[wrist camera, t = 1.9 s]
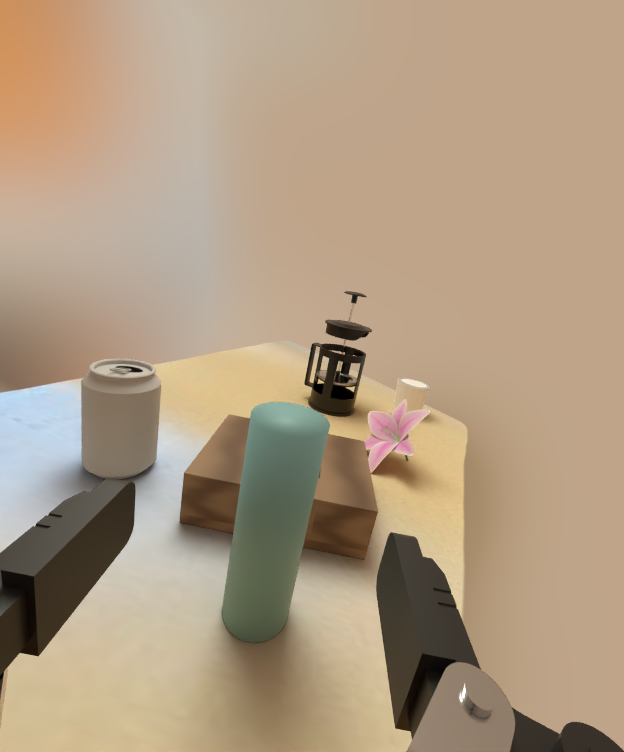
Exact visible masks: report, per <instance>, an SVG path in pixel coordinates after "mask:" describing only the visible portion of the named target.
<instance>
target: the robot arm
mask: <svg viewBox="0 0 624 752" xmlns="http://www.w3.org/2000/svg"><path fill="white" fill-rule="evenodd" d="M134 511H135V484H134V483H133V482H129V481H123V480H118V479H113V478H107V479H105V480H104V481H102V482H101V483H100V484H99V485H98V486H97V487H95V488H94V489H93V490H92V491H91V492H86V491H84V492H82V493H79V494H77V495H75V496H73V497H71V498H69V499H67V500H65V501H63V502H62V503H61V504H60V505H58V506H57V507H56V508H55V509H54V510H52V511H51V512H50V513H49V515H48V516H45V517H44V518H43V519H41V520H40V521H39V522H38V523H36V526H35V527H34V526H33V527H32V528H30V529H29V530H28V531H27V532H25V533H24V534H23V535H22V536H21V537H19V538H18V539H17V540H16V541H14V542H13V543H12V544H11V545H10V546H8V547H7V548H6V549H5V550H3V551H2V552H1V553H0V727H1V720H2V712H3V705H4V697H5V690H6V682H7V672H8V671H7V667H8V666H9V665H10V664H11V663H12V661H13V660H14V659H15V658H16V657H17V655H18V654H19V653H24V654H29V655H34V656H39V655H40V654H41V652H42V651H43V650H44V649H45V647H46V646H47V645H48V644H49V642H50V641H51V640H52V638H53V637H54V636H55V635H56V633H57V632H58V631H59V630H60V628H61V627H62V626H63V624H64V623H65V622H66V621H67V619H68V618H69V617H70V616H71V614H72V613H73V612H74V610H75V609H76V608H77V607H78V605H79V604H80V603H81V602H82V600H83V599H84V598H85V596H86V595H87V594H88V593H89V591H90V590H91V589H92V587H93V586H94V585H95V584H96V582H97V581H98V580H99V579H100V577H101V576H102V575H103V573H104V572H105V571H106V570H107V568H108V567H109V566H110V565H111V563H112V562H113V561H114V559H115V558H116V557H117V556H118V554H119V553H120V552H121V551H122V549H123V548H124V547H125V545H126V544H127V542H128V540H129V538H130V536H131V534H132V531H133V526H134ZM376 591H377V600H378V608H379V615H380V622H381V629H382V636H383V644H384V651H385V658H386V665H387V672H388V679H389V687H390V694H391V701H392V708H393V715H394V723H395V728H396V729H401V730H406V731H411V736H412V741H411V744H410V746H409V748H408V750H407V752H624V751H623V750H622V749H621V748H620V747H619V746H618V745H617V744H616V743H615V742H614V741H613V740H611V739H610V738H609V737H607V736H606V735H605V734H604V733H602V732H600V731H599V730H597V729H596V728H594V727H592V726H589V725H587V724H584V723H580V722H571V723H568V724H567V725H566V726H564V728H563V730H562V732H561V733H560V734H558V733H557V732H554V731H553V730H551V729H549V728H547V727H545V726H543V725H542V724H540V723H538V722H536V721H534V720H532V719H530V718H529V717H527V716H525V715H523V714H521V713H520V712H518V711H516V710H515V709H514V708H512V707H511V705H510V702H509V701H508V699H507V697H506V695H505V694H504V692H503V691H502V689H501V688H500V687H499V686H498V684H497V683H496V682H495V681H494V680H493V679H492V678H491V677H490V676H488V675H487V674H486V673H485V672H483V671H482V670H481V668H480V667H479V664H478V661H477V658H476V656H475V653H474V651H473V648H472V645H471V643H470V640H469V637H468V635H467V632H466V630H465V627H464V624H463V621H462V619H461V616H460V614H459V611H458V609H456V603H455V600H454V598H453V595H451V590H450V587H449V585H448V582H447V579H446V577H445V574H444V573H443V572H442V570H441V569H440V568H439V567H438V565H437V564H436V563H435V562H434V560H433V559H431V558H426V557H423V556H422V553H421V550H420V547H419V544H418V541H417V539H416V537H413V536H407V535H402V534H397V533H392V532H391V533H390V534H389V536H388V539H387V542H386V546H385V549H384V553H383V556H382V560H381V563H380V567H379V570H378V575H377V585H376Z"/></svg>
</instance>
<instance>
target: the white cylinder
mask: <svg viewBox="0 0 624 752" xmlns="http://www.w3.org/2000/svg"><path fill="white" fill-rule="evenodd" d="M429 390H430V386H429V385H427V384H425V383H423V382H421V381H417V380H414V379H409V378H399V379H398V382H397V388H396V394H395V399H394V405H393V411H394V409H395V408H396V407H397V406H398V405H399V404H400V403H401V402H402V401H403V400H404V399H406V400H407V409H406V413H407V412H409V411H414V410H422V407H423V405H424V402H425V400H426V398H427V395H428V393H429Z"/></svg>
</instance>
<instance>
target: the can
mask: <svg viewBox="0 0 624 752" xmlns="http://www.w3.org/2000/svg"><path fill="white" fill-rule="evenodd" d="M89 370H90V372H89V373H88V374H87V375H86V376H85V377H83V379H82V381H81V404H82V464H83V467H84V468H85V469H86V470H87V471H89V472H90V473H93V474H95V475H96V476H98V477H101V478H105V479H107V478H113V479H124V478H129V477H133V476H135V475H137V474H140V473H141V472H143V471H144V470H146V469H147V468H148V467H150V466H151V465H152V464H153V463H154V461H155V460H156V455H157V440H158V424H159V409H160V394H161V380H160V379H159V378H158V377H157V376H156V375H155V372H156V368H155V367H154V366H153V365H151V364H149V363H147V362H143V361H138V360H132V359H107V360H101V361H97V362H95V363H93V364H91V365H90V366H89Z"/></svg>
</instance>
